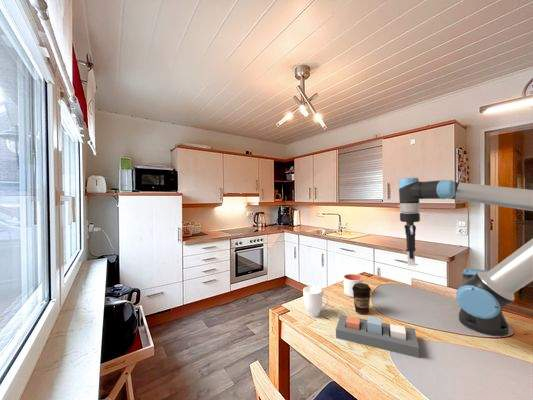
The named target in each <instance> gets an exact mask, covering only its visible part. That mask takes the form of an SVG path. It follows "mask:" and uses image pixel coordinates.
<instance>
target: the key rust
mask: <svg viewBox="0 0 533 400" xmlns="http://www.w3.org/2000/svg"><path fill="white" fill-rule="evenodd" d="M346 316H347V320H346V327H347V328H352V329H356V330H361V328H360V319H361V318H360V317H356V316H350V315H346Z"/></svg>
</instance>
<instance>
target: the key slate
mask: <svg viewBox="0 0 533 400" xmlns="http://www.w3.org/2000/svg"><path fill="white" fill-rule="evenodd" d="M366 320H367V332H370V333H375V334H379V335H382V323H383V322H382V318H380V317H375V316H370V315H367V319H366Z"/></svg>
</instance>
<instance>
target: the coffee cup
mask: <svg viewBox="0 0 533 400" xmlns="http://www.w3.org/2000/svg"><path fill="white" fill-rule="evenodd" d="M352 289H353V295H354V298H353V300H354V303H353V304H354V307H355V312H356V314H359V315H369V314H370V303H371V301H370V300H371V299H370V298H371V296H370V295H371V290H372V289H371V287H370V285H369V284H367V283H363V282H362V283H356V284H354V286H353V288H352Z"/></svg>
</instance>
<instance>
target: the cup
mask: <svg viewBox="0 0 533 400" xmlns="http://www.w3.org/2000/svg"><path fill="white" fill-rule="evenodd" d="M356 283H363V277H362V276H361V275H359V274H353V273H351V274H349V273H348V274H345V275H343V293H344V294H345V295H346V296H347V297H349V298H352V299H354V295H353V289H352V288H353V286H354V284H356Z"/></svg>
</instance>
